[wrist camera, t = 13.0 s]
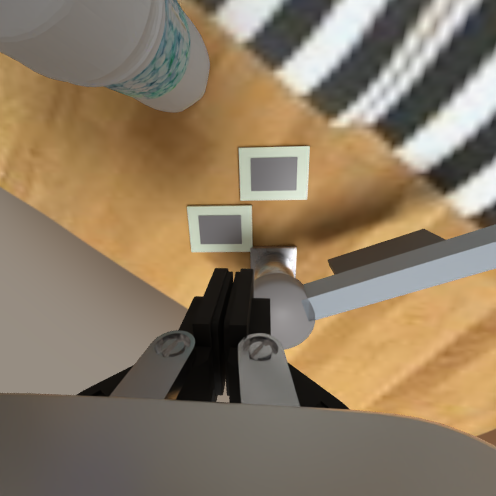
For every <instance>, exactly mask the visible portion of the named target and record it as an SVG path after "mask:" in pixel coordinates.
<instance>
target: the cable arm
mask: <svg viewBox="0 0 496 496" xmlns="http://www.w3.org/2000/svg"><path fill="white" fill-rule="evenodd" d="M328 262H329V266H330V267H331V269H332V271H333V273H334V275H332V276H329V277H326V278H323V279H320V280H316V281H313V282H310V283H307V284H304V285H303V284H302V283H301V282H300V281H299V280H297V279H296V278H294V277H292V276H289V275H286V274H281V273H272V274H266V275H263V276H261V277H259V278H257V279H255V280H254V298H270V314H271V335H272V336H274V337H275V338H277V339H278V340H279V341H280V342H281V344H282V346H283V349H289V348H292V347H294V346H297V345H299V344H300V343H302V342H303V341H304V340H305V339H306V338H307V337H308V336H309V335H310V333H311V332H312V330H313V327H314V324H315V320H317V319H321V318H324V317H328V316H331V315H335V314H338V313H342V312H345V311H349V310H352V309H356V308H359V307H363V306H366V305H370V304H373V303H377V302H380V301H384V300H387V299H391V298H394V297H398V296H401V295H405V294H408V293H412V292H415V291H419V290H422V289H426V288H429V287H433V286H436V285H439V284H443V283H446V282H450V281H453V280H457V279H460V278H464V277H467V276H471V275H474V274H478V273H481V272H485V271H488V270H492V269H495V268H496V225H493V226H489V227H486V228H483V229H480V230H477V231H473V232H470V233H467V234H464V235H461V236H457V237H454V238H451V239H448V240H445V239H443V238H441V237H439V236H437V235H435V234H433V233H431V232H429V231H427V230H425V229H422V230H418V231H415V232H412V233H409V234H406V235H403V236H400V237H397V238H394V239H391V240H387V241H384V242H381V243H378V244H375V245H372V246H369V247H366V248H363V249H360V250H356V251H353V252H350V253H347V254H344V255H341V256H338V257H335V258H332V259H329V260H328Z"/></svg>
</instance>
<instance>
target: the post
mask: <svg viewBox="0 0 496 496" xmlns="http://www.w3.org/2000/svg"><path fill="white" fill-rule="evenodd" d="M296 251H297V248H296V246H253V247H252V248H250V257H251V269H253V271H254V280H255V279H257V278H259V277H261V276H263V275H266V274H272V273H281V274H286V275H289V276H292V277H294V278H295V276H296Z"/></svg>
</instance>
